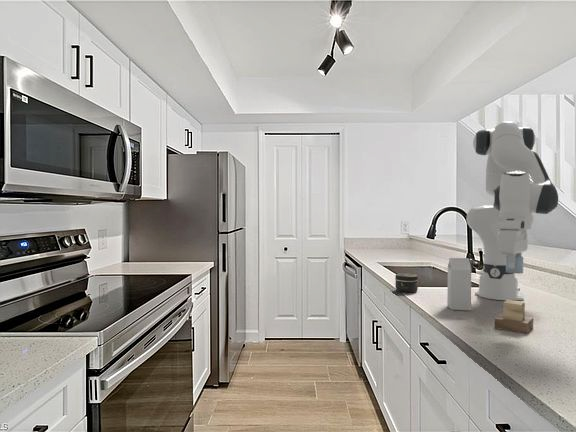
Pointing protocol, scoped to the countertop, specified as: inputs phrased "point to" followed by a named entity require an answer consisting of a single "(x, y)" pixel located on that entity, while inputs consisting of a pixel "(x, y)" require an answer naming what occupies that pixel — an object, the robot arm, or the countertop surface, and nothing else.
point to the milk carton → (459, 284)
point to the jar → (406, 283)
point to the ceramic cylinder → (518, 265)
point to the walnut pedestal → (514, 324)
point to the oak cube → (514, 310)
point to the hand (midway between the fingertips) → (514, 267)
